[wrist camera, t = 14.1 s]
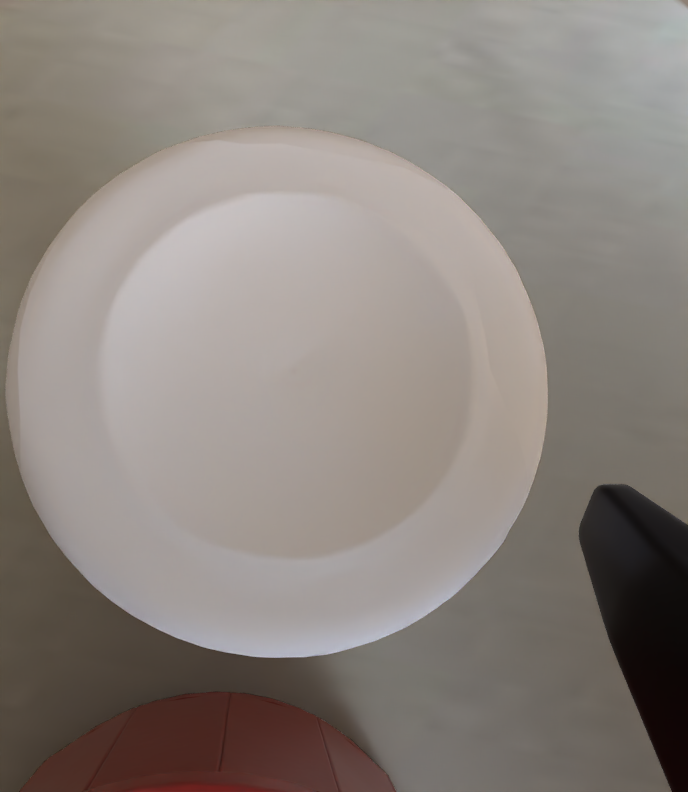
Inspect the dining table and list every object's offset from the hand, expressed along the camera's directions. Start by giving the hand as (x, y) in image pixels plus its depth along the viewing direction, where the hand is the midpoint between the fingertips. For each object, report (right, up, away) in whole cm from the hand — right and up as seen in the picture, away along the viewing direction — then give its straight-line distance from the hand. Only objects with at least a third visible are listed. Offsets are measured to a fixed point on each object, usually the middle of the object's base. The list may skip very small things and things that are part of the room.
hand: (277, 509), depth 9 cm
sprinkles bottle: (-1, -1, +10) cm, 10 cm away
